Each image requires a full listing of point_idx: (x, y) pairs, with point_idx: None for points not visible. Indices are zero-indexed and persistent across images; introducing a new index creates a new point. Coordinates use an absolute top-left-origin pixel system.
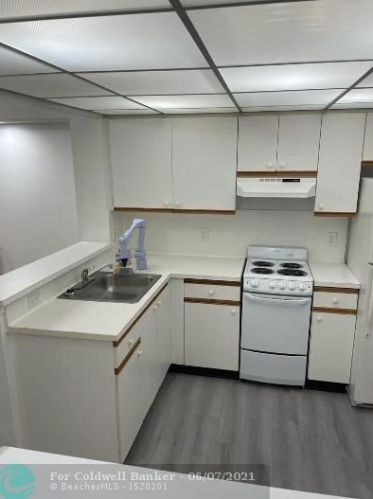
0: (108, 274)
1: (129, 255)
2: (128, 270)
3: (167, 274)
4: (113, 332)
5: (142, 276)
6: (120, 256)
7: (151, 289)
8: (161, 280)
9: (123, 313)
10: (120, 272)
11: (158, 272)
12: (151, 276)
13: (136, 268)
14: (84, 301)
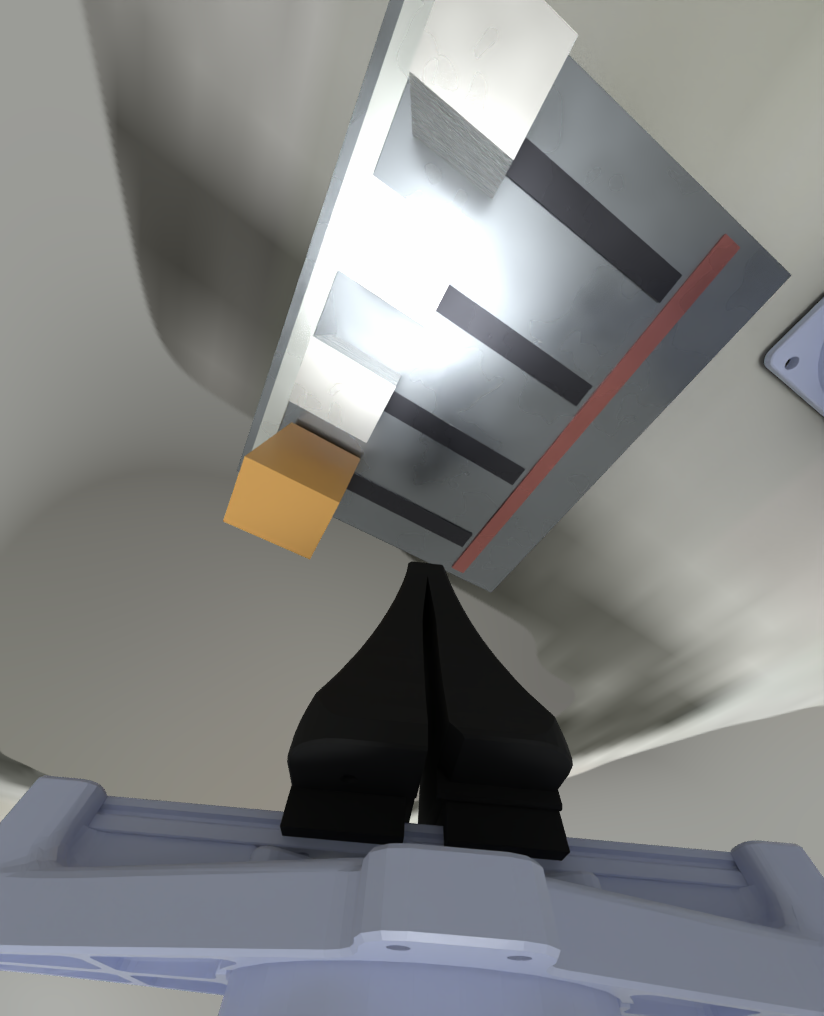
0: (190, 352)
1: (797, 1001)
2: (563, 418)
3: (765, 716)
4: None
5: (545, 657)
6: (236, 967)
7: (411, 819)
8: (581, 771)
9: None
10: (384, 449)
11: (789, 643)
12: (610, 692)
13: (809, 335)
14: (10, 787)
